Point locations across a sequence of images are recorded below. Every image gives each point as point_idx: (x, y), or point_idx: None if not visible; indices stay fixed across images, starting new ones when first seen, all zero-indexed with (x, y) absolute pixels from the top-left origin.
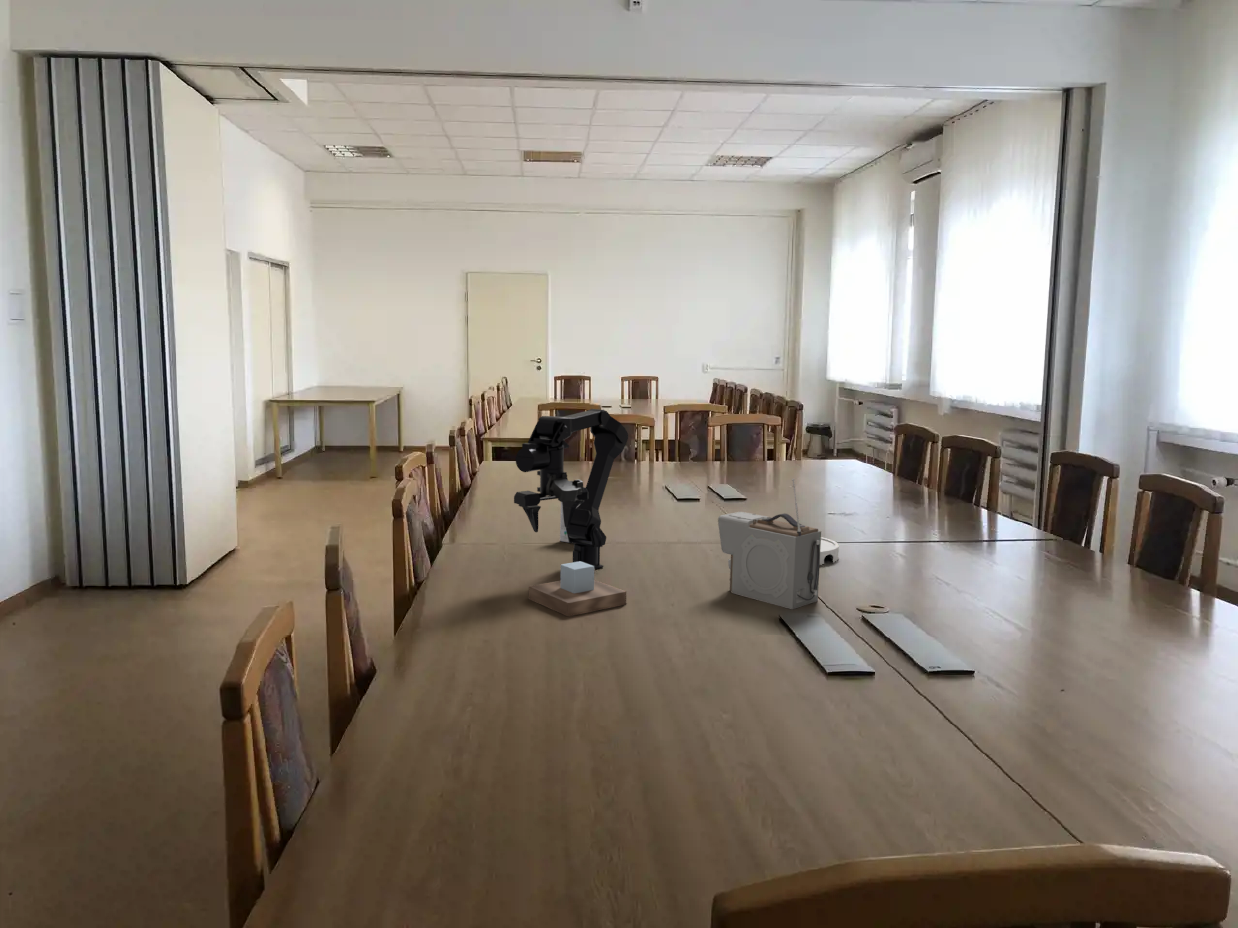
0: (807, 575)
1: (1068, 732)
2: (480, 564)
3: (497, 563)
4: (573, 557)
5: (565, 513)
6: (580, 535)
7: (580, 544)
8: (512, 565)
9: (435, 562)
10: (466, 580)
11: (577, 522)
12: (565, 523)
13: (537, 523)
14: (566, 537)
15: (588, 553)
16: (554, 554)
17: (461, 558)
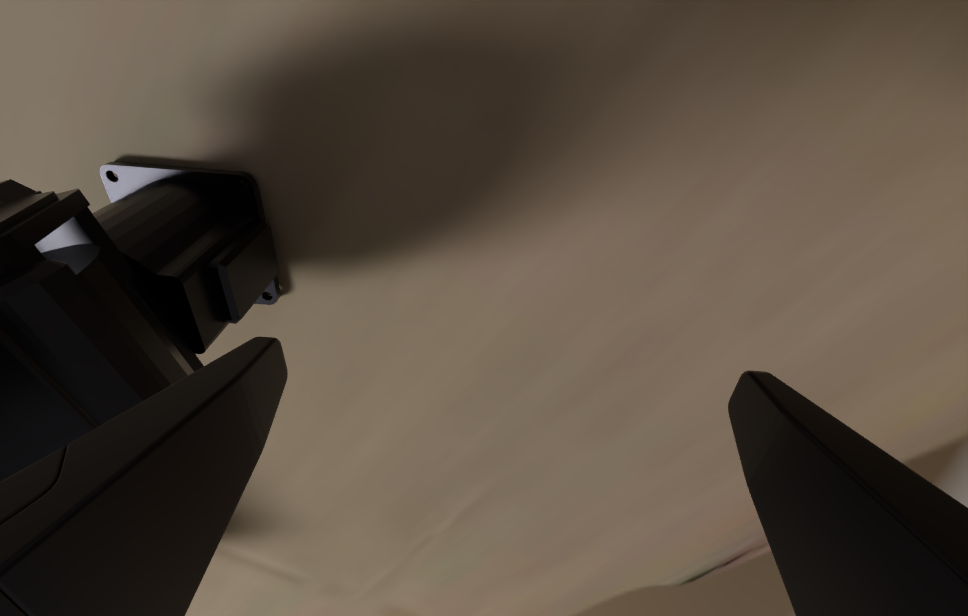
0: None
1: None
2: (594, 501)
3: (534, 482)
4: (257, 289)
5: (181, 544)
6: (133, 311)
7: (165, 313)
8: (506, 438)
9: (688, 576)
10: (836, 385)
11: (65, 429)
12: (265, 403)
13: (849, 453)
14: None
15: (153, 227)
16: (259, 458)
17: (587, 568)
